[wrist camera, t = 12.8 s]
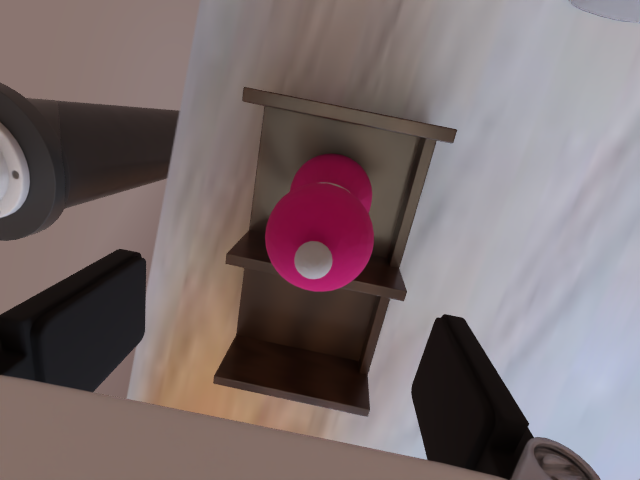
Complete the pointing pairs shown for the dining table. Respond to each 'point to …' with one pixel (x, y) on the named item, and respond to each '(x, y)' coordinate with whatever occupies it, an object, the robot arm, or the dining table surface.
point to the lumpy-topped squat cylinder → (611, 8)
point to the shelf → (340, 304)
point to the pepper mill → (322, 225)
